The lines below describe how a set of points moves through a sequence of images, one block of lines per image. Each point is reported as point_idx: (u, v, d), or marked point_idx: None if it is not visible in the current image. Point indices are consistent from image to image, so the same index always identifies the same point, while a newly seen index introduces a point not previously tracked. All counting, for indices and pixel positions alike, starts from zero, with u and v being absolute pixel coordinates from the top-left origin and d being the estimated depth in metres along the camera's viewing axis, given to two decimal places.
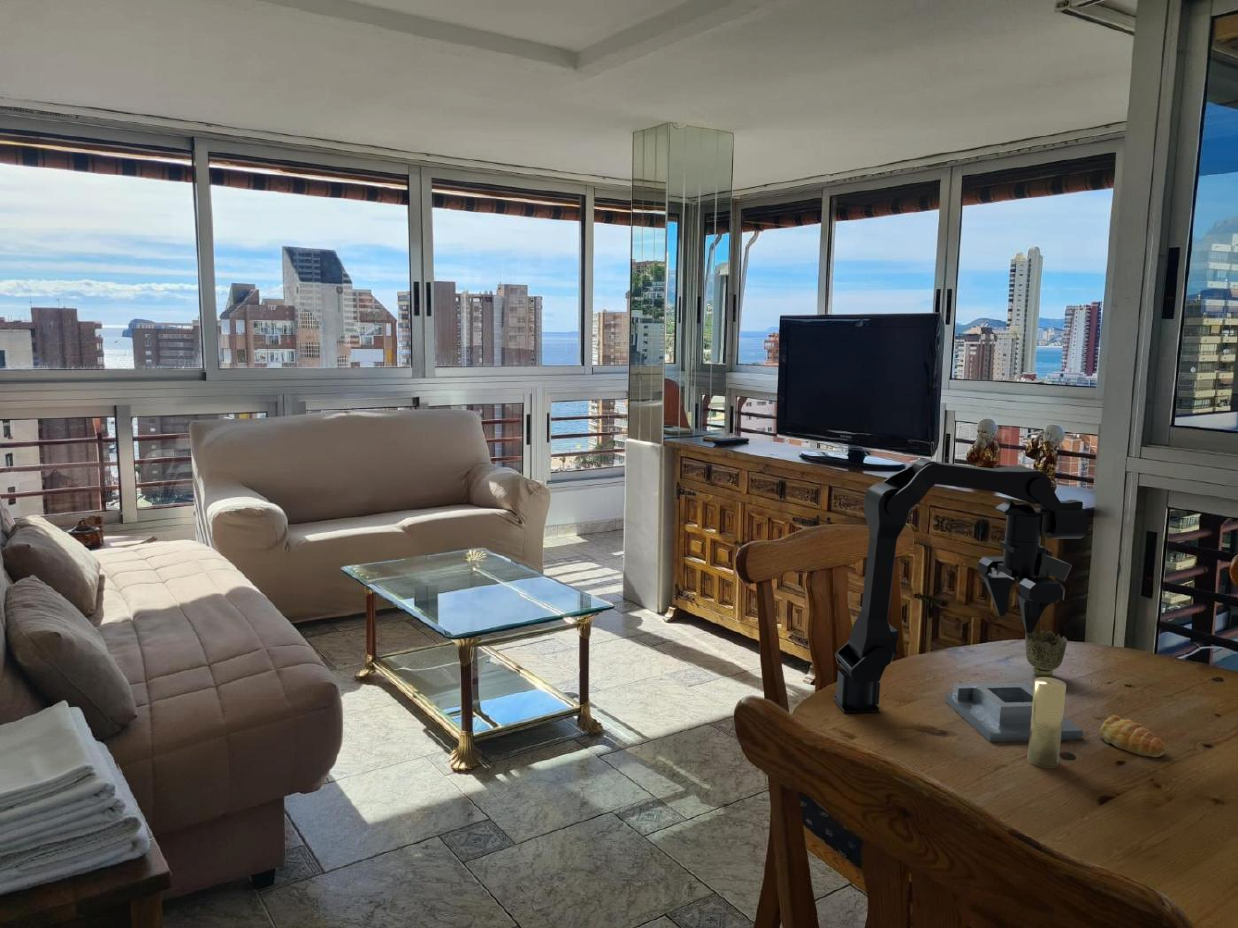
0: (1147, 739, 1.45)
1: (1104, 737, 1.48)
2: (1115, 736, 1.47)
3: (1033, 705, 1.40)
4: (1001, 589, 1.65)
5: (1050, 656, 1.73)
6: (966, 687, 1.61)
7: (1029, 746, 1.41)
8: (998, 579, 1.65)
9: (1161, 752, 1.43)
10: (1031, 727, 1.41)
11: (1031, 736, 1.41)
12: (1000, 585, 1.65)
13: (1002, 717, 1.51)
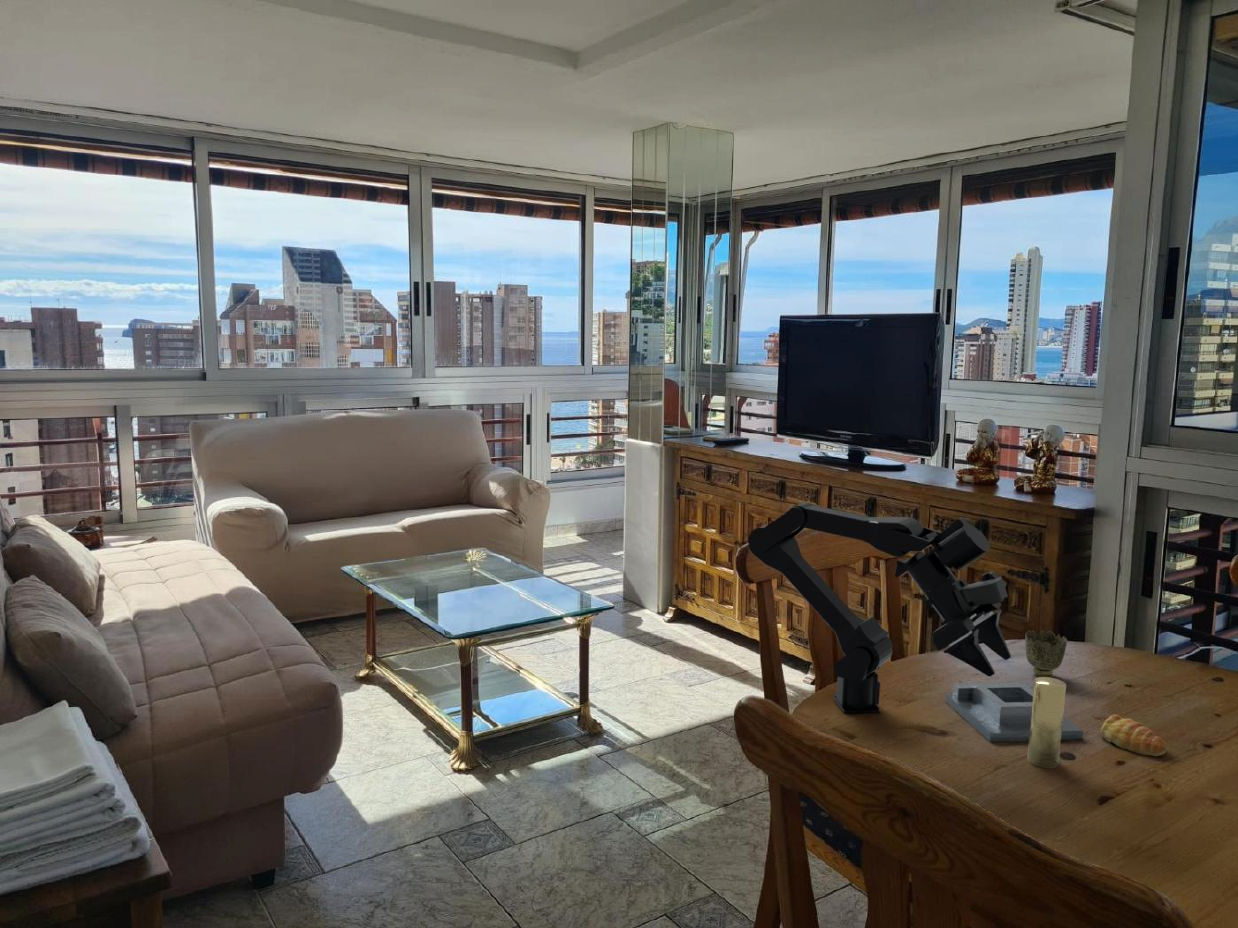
0: (1148, 738, 1.45)
1: (1105, 736, 1.49)
2: (1117, 735, 1.47)
3: (1033, 705, 1.40)
4: (987, 633, 1.50)
5: (1050, 656, 1.73)
6: (966, 687, 1.61)
7: (1029, 746, 1.41)
8: (978, 624, 1.51)
9: (1162, 751, 1.43)
10: (1031, 727, 1.41)
11: (1031, 736, 1.41)
12: (984, 630, 1.50)
13: (1002, 717, 1.51)
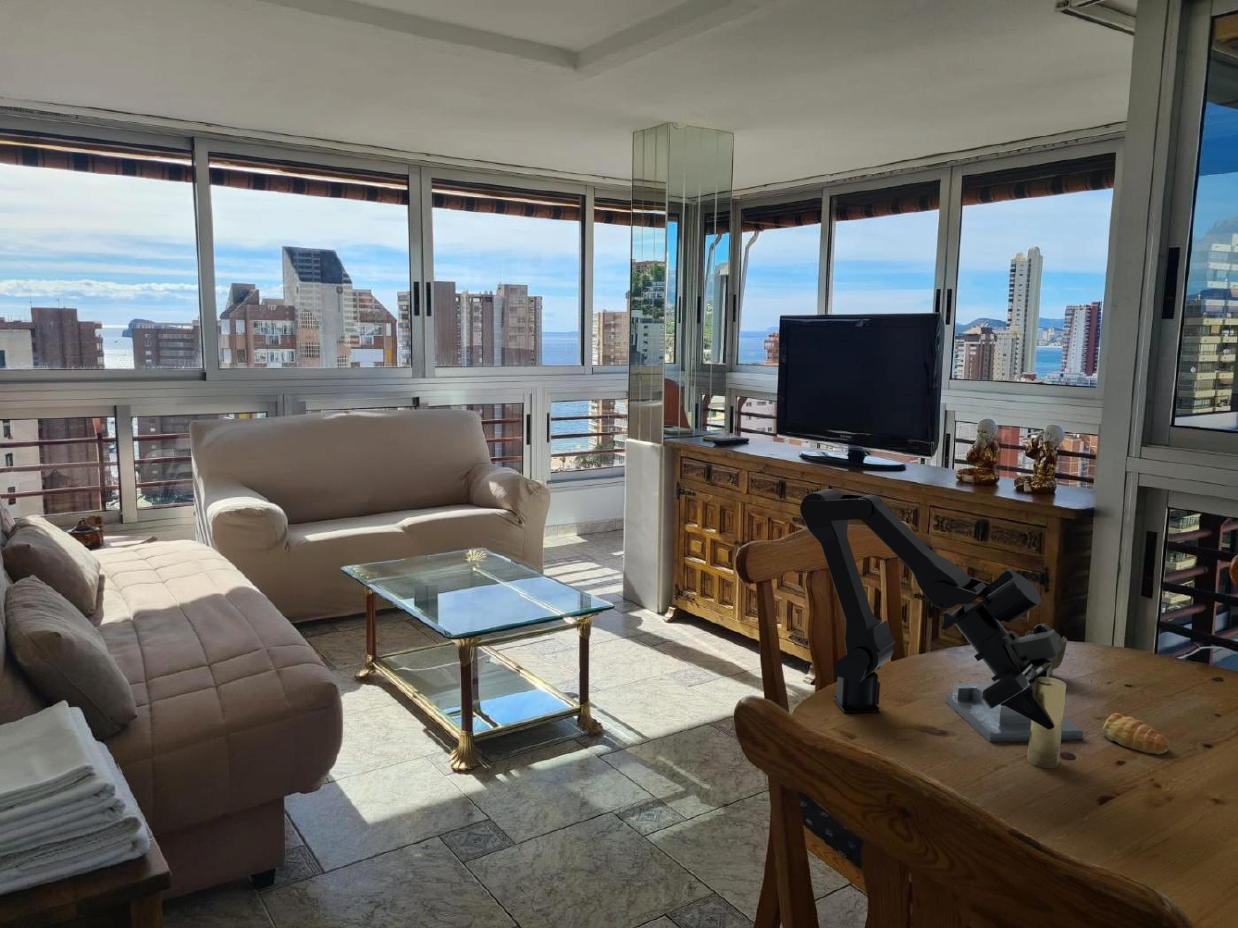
0: (1150, 736, 1.46)
1: (1107, 735, 1.49)
2: (1119, 733, 1.47)
3: None
4: None
5: None
6: (966, 687, 1.61)
7: (1029, 746, 1.41)
8: (1027, 682, 1.44)
9: (1165, 749, 1.44)
10: (1031, 727, 1.41)
11: (1031, 736, 1.41)
12: None
13: (1002, 717, 1.51)
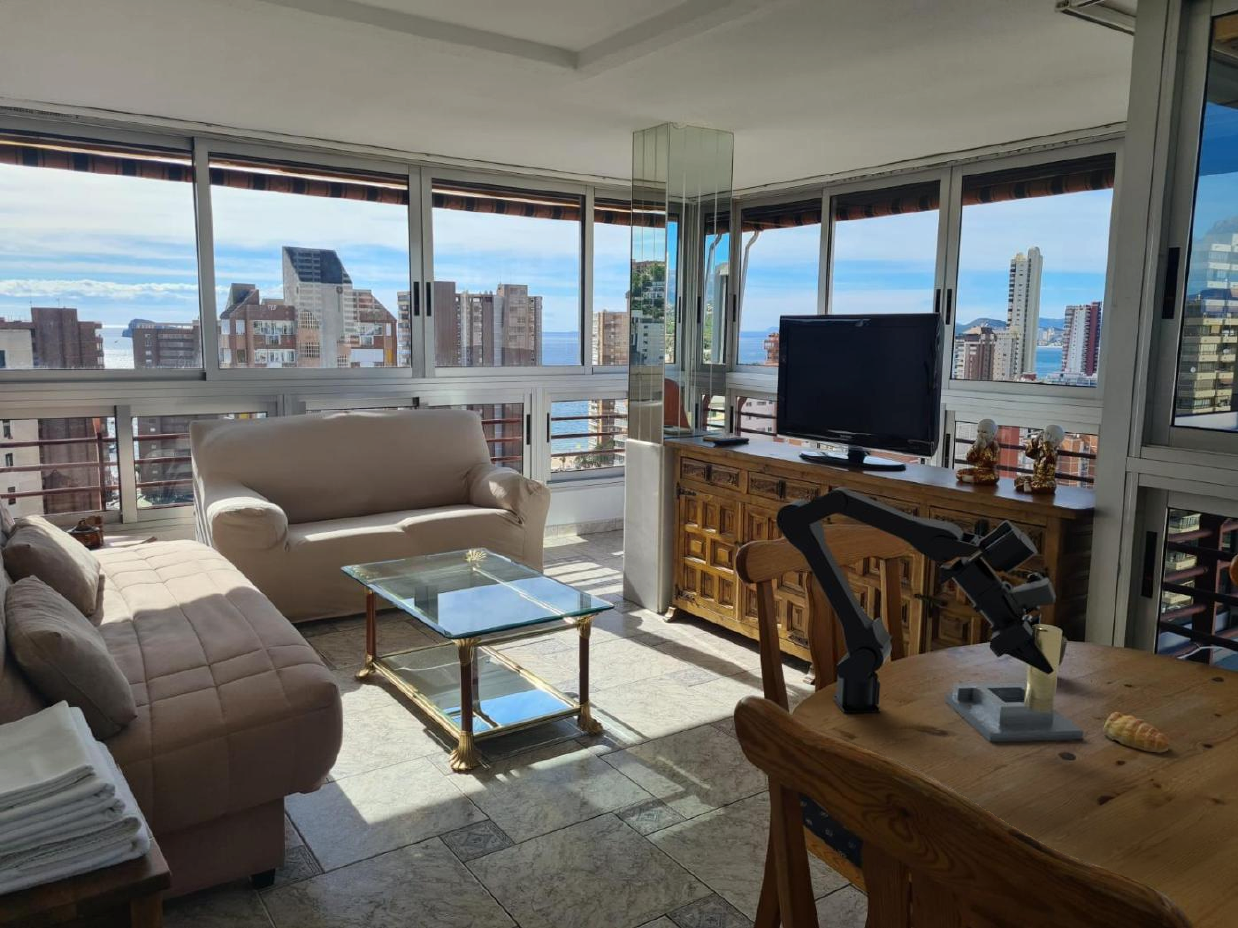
0: (1151, 734, 1.46)
1: (1109, 734, 1.49)
2: (1121, 732, 1.48)
3: None
4: None
5: None
6: (966, 687, 1.61)
7: (1027, 692, 1.45)
8: None
9: (1166, 747, 1.45)
10: (1028, 673, 1.45)
11: (1029, 682, 1.45)
12: None
13: (1002, 717, 1.51)
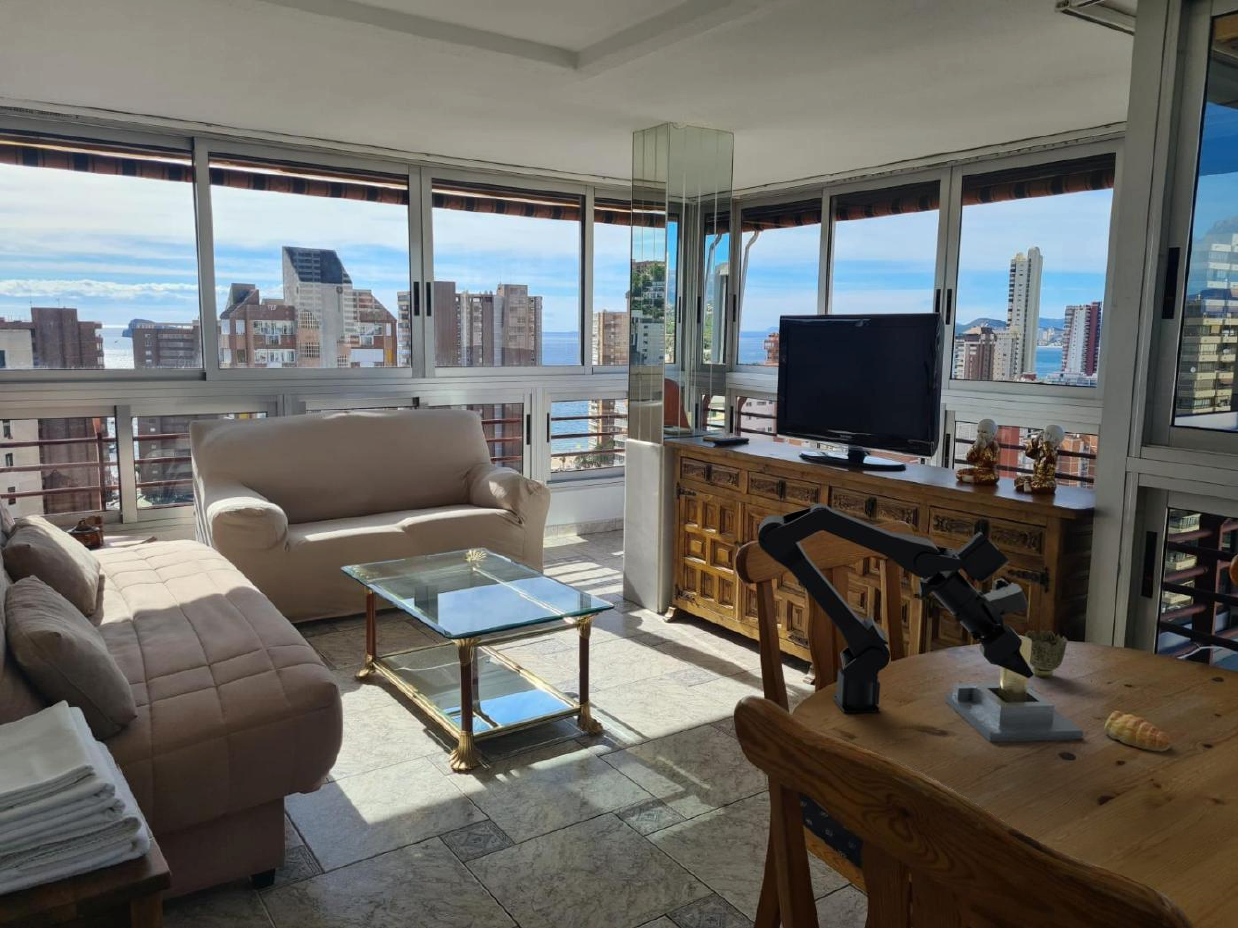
0: (1152, 733, 1.47)
1: (1110, 733, 1.50)
2: (1122, 732, 1.48)
3: None
4: None
5: (1050, 656, 1.73)
6: (966, 687, 1.61)
7: (1002, 700, 1.55)
8: None
9: (1167, 746, 1.45)
10: (1003, 682, 1.54)
11: (1004, 690, 1.54)
12: None
13: (1002, 717, 1.51)
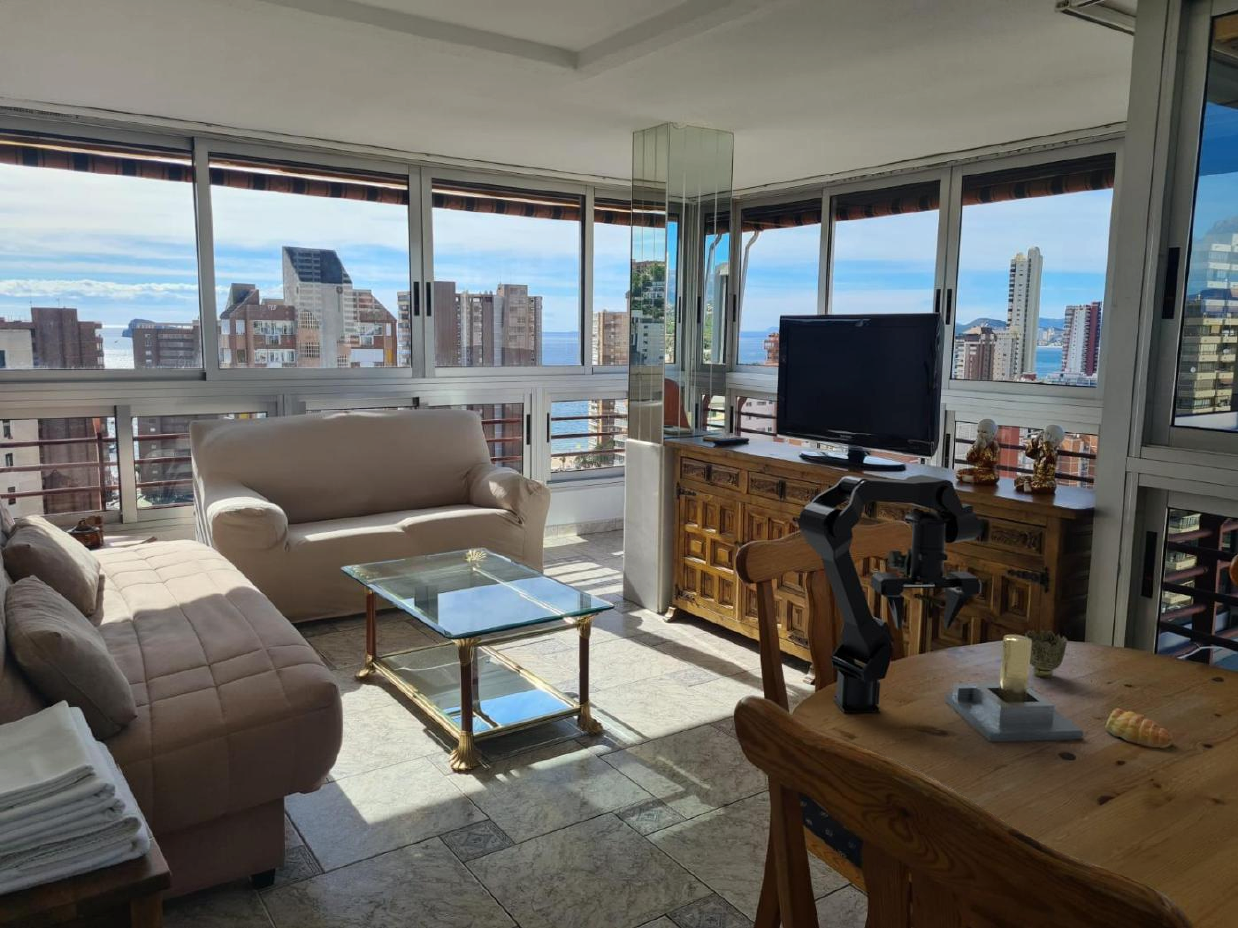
0: (1154, 730, 1.48)
1: (1112, 731, 1.51)
2: (1124, 729, 1.49)
3: (1006, 662, 1.54)
4: None
5: (1050, 656, 1.73)
6: (966, 687, 1.61)
7: (1002, 700, 1.55)
8: (899, 594, 1.64)
9: (1169, 742, 1.47)
10: (1003, 682, 1.54)
11: (1004, 690, 1.54)
12: None
13: (1002, 717, 1.51)
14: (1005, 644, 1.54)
